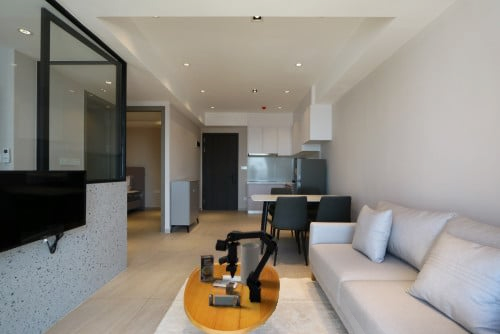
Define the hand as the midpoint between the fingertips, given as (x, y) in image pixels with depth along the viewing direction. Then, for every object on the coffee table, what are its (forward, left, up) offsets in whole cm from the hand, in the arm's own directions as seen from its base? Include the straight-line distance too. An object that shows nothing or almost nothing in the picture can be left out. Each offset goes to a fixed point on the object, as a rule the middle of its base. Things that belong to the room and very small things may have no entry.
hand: (232, 278), depth 167 cm
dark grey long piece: (+3, +12, -11) cm, 16 cm away
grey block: (+3, +11, -10) cm, 15 cm away
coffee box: (+20, -24, -11) cm, 33 cm away
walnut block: (+2, -5, -11) cm, 12 cm away
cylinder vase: (-10, -21, -11) cm, 26 cm away
